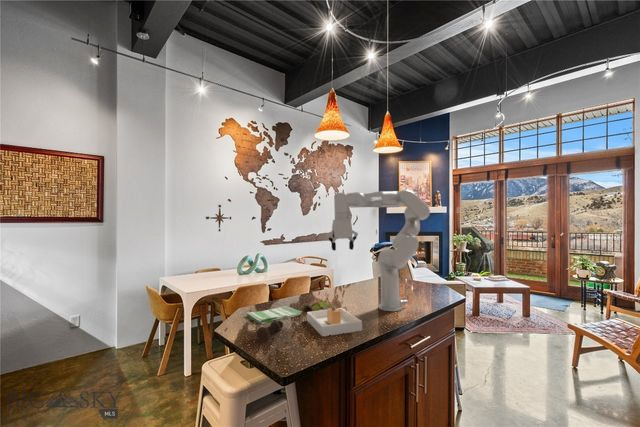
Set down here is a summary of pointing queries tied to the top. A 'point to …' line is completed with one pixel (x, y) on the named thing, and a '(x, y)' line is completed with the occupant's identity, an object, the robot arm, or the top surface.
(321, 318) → the tray
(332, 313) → the tan rectangular block
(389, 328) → the top surface
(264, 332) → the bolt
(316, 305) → the green elongated lump
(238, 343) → the top surface
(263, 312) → the dish towel
